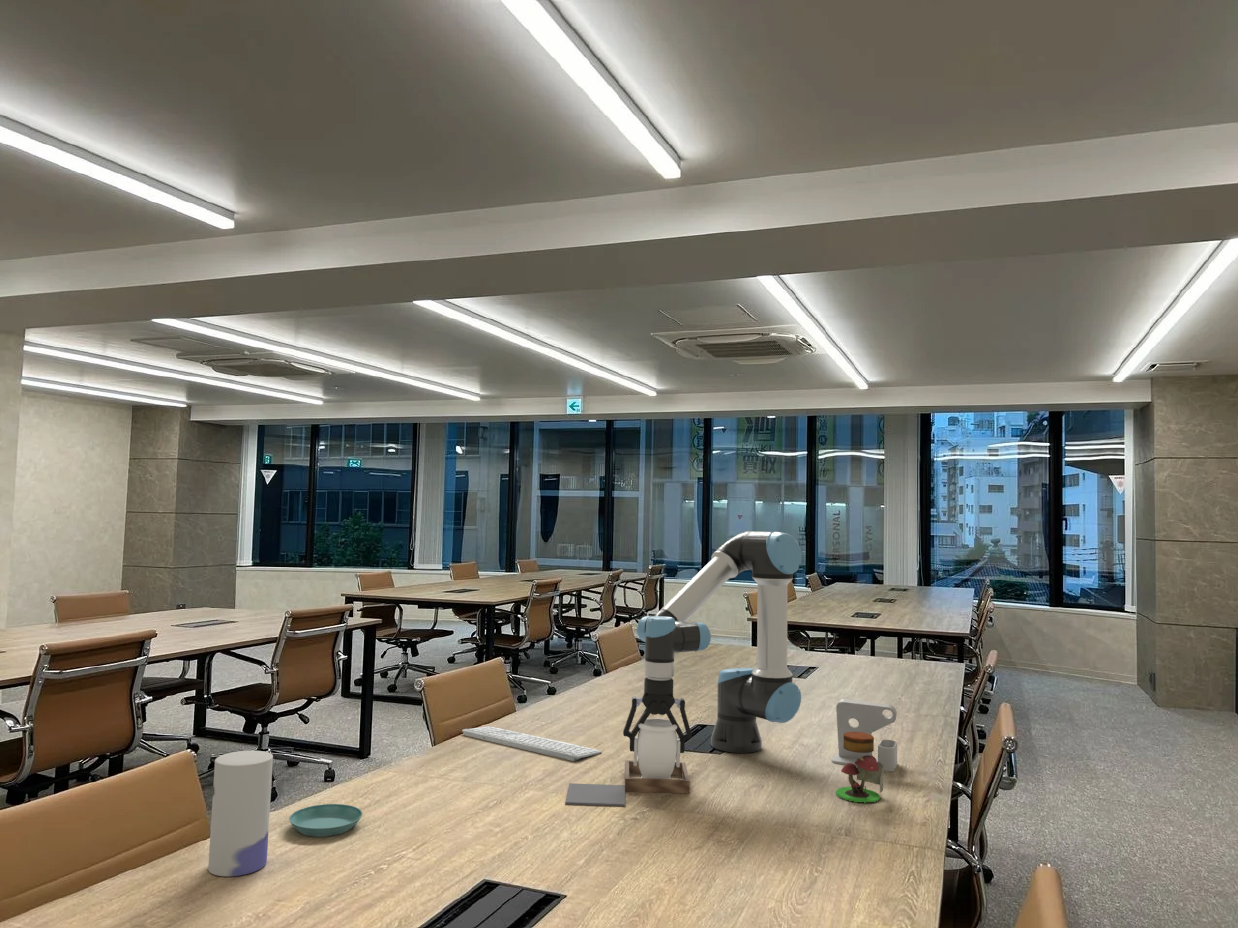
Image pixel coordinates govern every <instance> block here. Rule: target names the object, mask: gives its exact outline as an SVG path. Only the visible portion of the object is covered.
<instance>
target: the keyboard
mask: <svg viewBox="0 0 1238 928" xmlns="http://www.w3.org/2000/svg"><path fill="white" fill-rule="evenodd" d="M461 732H462V733H463V734H464V736H466V737H470V738H474V739H478V740H483V741H487V742H492V743H495V744H499V745H504V746H508V747H511V748H512V747H513V748H515V749H516V748H517V749H520V750H525V751H529V752H534V753H538V754H541V755H546V756H550V757H554V758H559V759H563V760H568V761H572V762H576V761H579V760H580V759H582V758H586V757H592V756H595V755H599V754H601V753H602V750H599V749H595V748H590V747H586V746H582V745H577V744H573V743H569V742H565V741H560V740H557V739H556V740H555V739H550V738H547V737H542V736H536V735H531V734H527V733H523V732H519V731H513V730H509V729H505V728H504V729H503V728H500V727H494V726H489V725H488V726H482V727H474V728H463V729H462V730H461Z"/></svg>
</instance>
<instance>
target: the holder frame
mask: <svg viewBox="0 0 1238 928" xmlns="http://www.w3.org/2000/svg"><path fill="white" fill-rule="evenodd" d="M630 774H641V772H640V769H639V764H638V760H637V766H634V759H633V760H631V759H630V760H629V759H625V760H624V785H625V792H636V793H637V792H638V793H639V792H640V793H666V794H667V793H668V794H691V793H690V791H691V790H690V789H691V780H690V776H689V772H688V768H687V764H686V762H685V761H680V767H677V766H676V761H675V766H674V770H673V772H672V774H671V775H672V776H673V775H674V776H679V775H680V776H681V779H676V778H675V779H673V778H671V779H653V778H641V777H630Z"/></svg>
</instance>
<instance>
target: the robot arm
mask: <svg viewBox="0 0 1238 928" xmlns="http://www.w3.org/2000/svg"><path fill="white" fill-rule="evenodd" d="M802 558H803V557H802V550H801V546H800V544H799V543H798V541H797V540H796V539H795V537H794V536H793V535H791V534H789V533H786V532H780V531H757V530H747V531H741V532H740V533H738V534H736V535H734V536H733V537H731V538H730V539H728V540H726V542H724V543H723V544H721V545H720V546H719V547H718V548H717V549H716V550H715V551H714V552H712V554H711V559H710V560H709V561H708V562H707V564H705V565H704V567H703V568H701V569H700V570H699V571H698V572H697V573H696V574H695V575H694V576H693V577H692V578H691V579H690V580H689V581H688V582H687V583H685V585H684V586H683V587H682V588H681V589H680V590H679V591H677V593H676V594H675V595H674V596H672V597H671V599H670V600H669V601H668V602H666V604H665V605H663V607H662V608H661V609H660V610H659V611H658V612H656V613H655V614H654V615H646V616H642V617H641V619H639V621H638V623H637V626H636V633H637V636H638V638H639V640H641V642H644V643H645V645H644V646H645V649H644V651H645V652H644V653H645V654H644V676H645V678H644V683H643V684H644V686H643V689H644V690H643V696H642V697H636V696H632V697H631V707H630V711H629V713H628V716H627V719H626V722H625V724H624V726H623V727H624V728H623V731H622V735H623V736H624V737H626V738H629V751H630V752H632V753H633V760H634V766H637V761H638V755H637V739H638V733H639V730H640V728H639V727H638V725H639V724H640V723H642V724H644V722H645V721H646V719H649V716H650V715H653V716H656V715H660V716H664V715H666V716H667V719H668V720H670V722H671V723H672V725H677V729H676V730H675V732H676V735H677V737H678V738H677V754H676V760H675V762H676V766H677V767H680V762H681V754H685V745H686V744H685V742H686V740H689V739H692V738H693V734H692V732H691V728H690V724H689V719H688V717H687V713H686V709H685V708H686V701H685V699H684V698H683V697H682V698H675V697H674V679H673V677H674V676H675V675H674V674H675V673H674V672H675V671H674V670H675V669H674V668H675V654H677V653H689V652H694V653H696V652H700V651H704V650H706V649H708V647H709V645H710V643H711V635H712V634H711V630H710V628H709V627H708V625H707V624H705V622H701V621H700V622H697V621H692V622H687V621H688V620H689V619H690V618H691V617H692V616H694V615H695V613H696V612H697V611H698V610H699V609H700V608H701V607H702V606H703V605H704V604H706V602H707V601H709V599H710V598H711V597H712V596H713V595H714V594H715V593H716V592H717V591H718V590H720V588H721V587H722V586H723V585H724V584H725V583H726V582H727V581H728V580H729V579H733V578H736V577H737V576H738V575H739V574H740V573H742V572H744V571H751V572H752V573H751V577H752V579H753V580H754V581H755V582H756V585H757V603H756V604H757V605H756V606H757V608H756V609H757V613H756V614H757V616H756V617H757V627H756V628H757V632H756V633H757V634H756V636H757V639H756V646H757V649H756V651H757V653H756V654H757V655H756V660H757V661H756V667H754V668H753V667H737V668H736V667H735V668H732V667H731V668H724V669H722V670H720V671H719V674H718V680H717V681H718V682H717V710H716V711H717V716H716V722H715V724H714V727H713V731H712V734H711V736H710V745H711V747H712V748H714V749H716V750H719V751H722V752H728V753H736V754H749V753H756V752H759V751H760V750H761V749H762V744H763V743H762V741H763V740H762V738H761V734H760V730H759V726H758V724H757V718H758V719H762V720H766V721H768V722H771V723H778V724H786V723H788V722H790V721H791V720H792V719H793V718H794V717H795V716H796V714H797V713H798V711H799V709H800V707H801V703H802V691H801V689H800V688H799V685H797V684H796V683H795V682H793V673H792V671H790V669H789V668H788V585H789V584H790V583H791V581H793V579H794V578H793V577H794V574H795V573H796V572H797V571H798V570H799V568H800V567H799V566H801V564H802ZM641 704H643V706H644V710H643V712H642V714H641V716H640V717H639V719H638V720H637V722H636V724H635V725H634V727H633V728H632V730H631V731H630V729H631V726H632V723H633V722H634V717H635V715H636V712H637V707H639V706H640V705H641ZM674 704H676V706H677V708H678V709H679V713H680V714H681V715H680V717H681V719H682V723H683V726H684V730H685V733H683V731H682V729H681V727H680V725H679V724H678V722H677V720H676V718H675V717H674V714H673V712H672V711H671V709H672V707H673V706H674Z"/></svg>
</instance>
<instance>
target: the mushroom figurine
mask: <svg viewBox="0 0 1238 928" xmlns="http://www.w3.org/2000/svg"><path fill="white" fill-rule="evenodd" d="M874 739H875V737H874V736H873V734H872V735H870V734H867V733H863V732H846V733H844V741H843V748H844V749H846V750H848V751H851V752H857V753H870V752H872V753H874V749H875V746H874V745H875V740H874ZM876 758H877V757H875V756H871V755H866V756H863V757H861V758H857V761H855V764H856V765H857V767H856V766H855V765H854V764H853V763H848V764H846V765H844V766H843V767H841V768H842V769H841V770H840V772H841V773H843V774H845V775H848V783H849V785H850V786H844V787H839V788H837V789H836V790H835V795H836V796H837V797H838V796H839V797H838V798H839V799H842V798H843V799H842V800H844V799H845V801H847V800H849V801H848V802H851V801H854V802H853V803H857V802H864V803H863V804H867V803H866V802H874V803H877V802H879V801H880V800H881V795H880V794H881V793H882V792H883V791H884V772H885V771H884V770H883V765H882V764H881V763H879V762H877V760H876ZM854 776H856V780H854ZM857 780H858V781H861V782H860V783H859V782H857ZM865 782H868V783H872V784H875V785H878V786H879V793H878V792H876V791H874V790H872V789H869V788H868V789H867V787H866V786H865ZM879 799H880V800H879ZM878 800H879V801H878ZM876 801H877V802H876Z"/></svg>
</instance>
